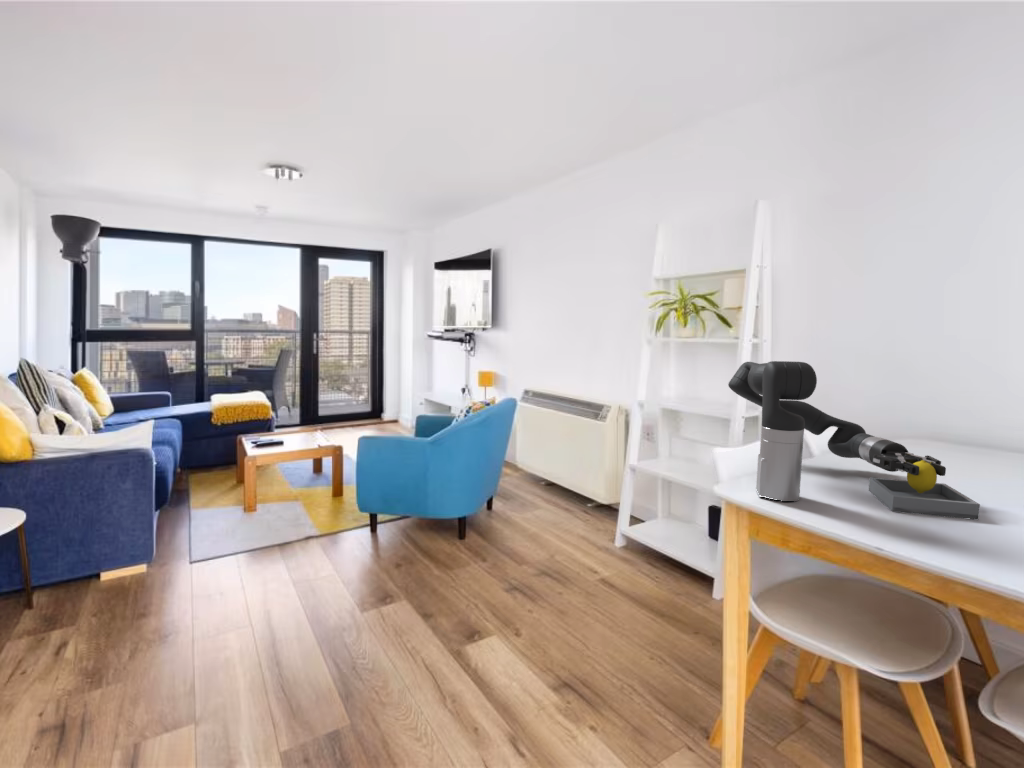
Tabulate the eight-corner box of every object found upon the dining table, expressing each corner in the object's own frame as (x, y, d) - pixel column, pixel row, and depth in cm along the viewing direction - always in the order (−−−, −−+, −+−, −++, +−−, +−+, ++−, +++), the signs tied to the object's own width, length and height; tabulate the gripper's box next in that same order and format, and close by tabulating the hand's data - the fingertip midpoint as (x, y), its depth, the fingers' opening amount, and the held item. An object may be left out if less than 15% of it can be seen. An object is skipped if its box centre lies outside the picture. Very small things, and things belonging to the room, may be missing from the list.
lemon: (940, 497, 121) (943, 464, 120) (913, 496, 122) (916, 462, 121) (926, 490, 126) (929, 458, 125) (900, 488, 127) (903, 456, 126)
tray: (892, 511, 119) (893, 496, 119) (868, 490, 134) (869, 477, 134) (978, 519, 114) (979, 504, 114) (943, 497, 129) (945, 483, 129)
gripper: (855, 438, 137) (900, 454, 121) (912, 439, 137) (965, 456, 120) (853, 466, 138) (897, 486, 121) (909, 467, 138) (961, 488, 121)
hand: (930, 471), depth 121 cm, fingers closed on lemon, 5 cm apart
